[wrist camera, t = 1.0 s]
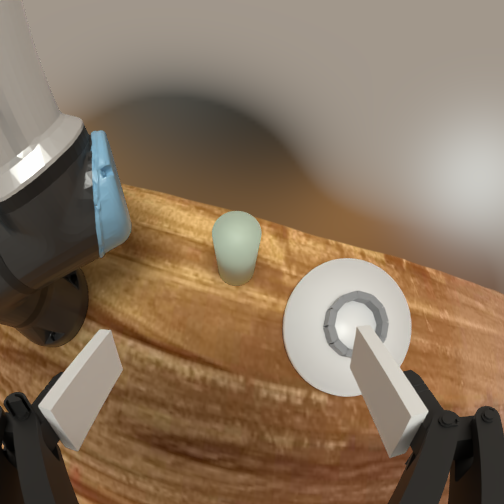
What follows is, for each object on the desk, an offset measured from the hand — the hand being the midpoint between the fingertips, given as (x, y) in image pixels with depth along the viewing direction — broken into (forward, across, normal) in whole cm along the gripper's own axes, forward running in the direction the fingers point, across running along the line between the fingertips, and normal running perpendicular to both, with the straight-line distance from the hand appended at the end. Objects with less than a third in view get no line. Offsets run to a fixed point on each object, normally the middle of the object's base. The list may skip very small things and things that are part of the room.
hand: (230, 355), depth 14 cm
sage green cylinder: (+26, -1, -4) cm, 26 cm away
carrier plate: (+22, +15, -12) cm, 29 cm away
